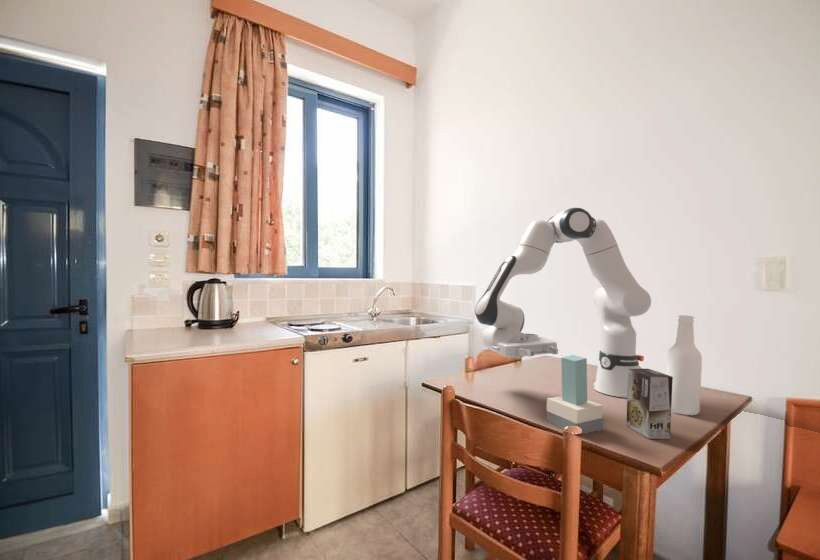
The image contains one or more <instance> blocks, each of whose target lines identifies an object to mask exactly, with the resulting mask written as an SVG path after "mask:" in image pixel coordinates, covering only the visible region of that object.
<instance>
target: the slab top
mask: <svg viewBox="0 0 820 560" xmlns="http://www.w3.org/2000/svg"><path fill="white" fill-rule="evenodd" d="M603 408H604V407H603V404H601V403H598V402H594V401H592V400H589V399H587V402H585V403H582V404H579V405H574V404H571V403H569V402H566V401H563V400H562V395H559V396H553V397H547V398H546V412H547V411H548V412H551V413H553V414H555V415H558V416H560V417H562V418H565V419H567V420H569V421H572V422H574V423H576V424H578V423H582V422H587V421H591V420H596V419H600V418H602V419H603Z"/></svg>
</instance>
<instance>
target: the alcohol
mask: <svg viewBox="0 0 820 560" xmlns="http://www.w3.org/2000/svg"><path fill="white" fill-rule="evenodd" d="M677 317H678V320H677V321H678V325H677V330H676V331H677V332H676V338H675V339H676V340H675V343H674V344H673V345H672V346H671V347H670V348H669V349H668V352H667V353H666V354H667V355H666V356H667V357H666V359H667V360H666V375H669V376H672V377H673V381H672V404H671V413H674V414H677V413H678V415H681V414H682V415H683V416H688V415H689V416H690V415H691V417H694V416H693V415H695V416H697V415H698V414H699V413H700V411H701V410H700V408H701V390H702V389H701V386H702V385H701V384H702V369H703V367H702V365H703V357H702V353H701V352H700V351H699V349H698V348H697V347H696V344H695V332H694V331H695V330H694V322H695V321H694V319H695V317H694V316H692V315H683V314H681V315H680V314H679V315H678V316H677Z"/></svg>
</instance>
